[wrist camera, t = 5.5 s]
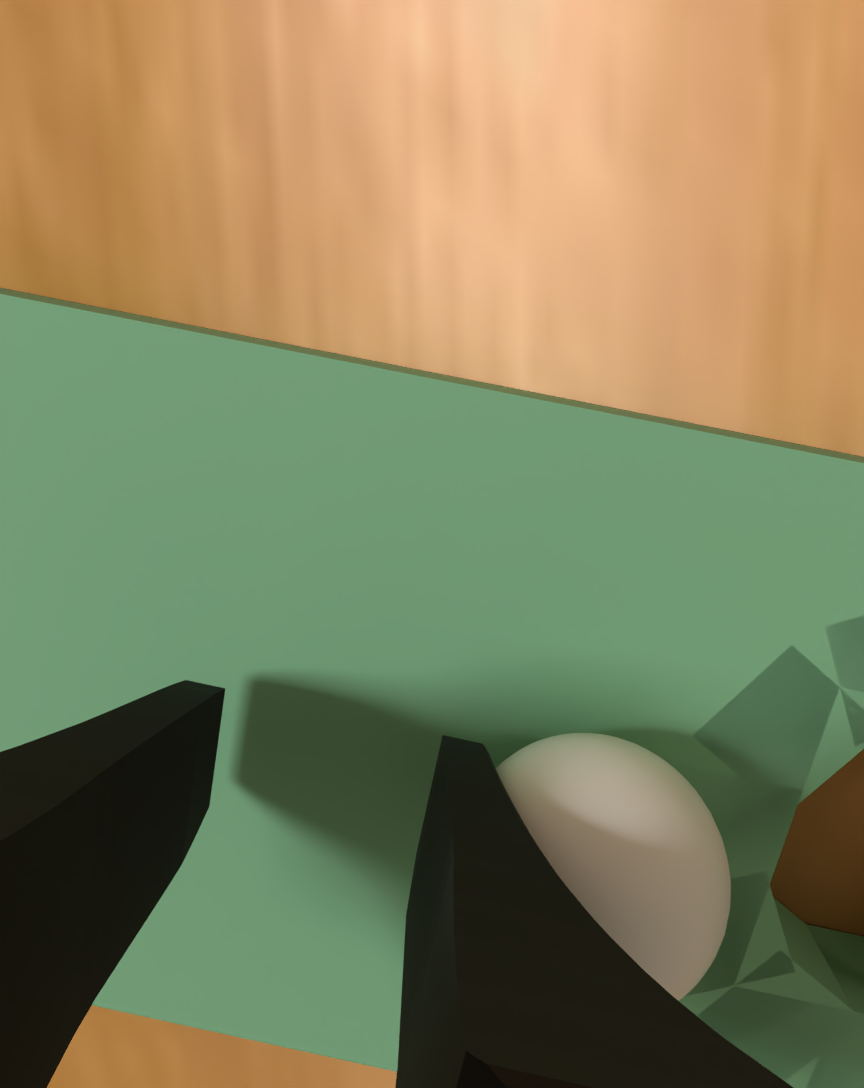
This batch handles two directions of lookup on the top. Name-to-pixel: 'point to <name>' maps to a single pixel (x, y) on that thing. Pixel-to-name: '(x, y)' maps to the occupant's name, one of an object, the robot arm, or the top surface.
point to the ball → (628, 848)
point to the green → (418, 646)
